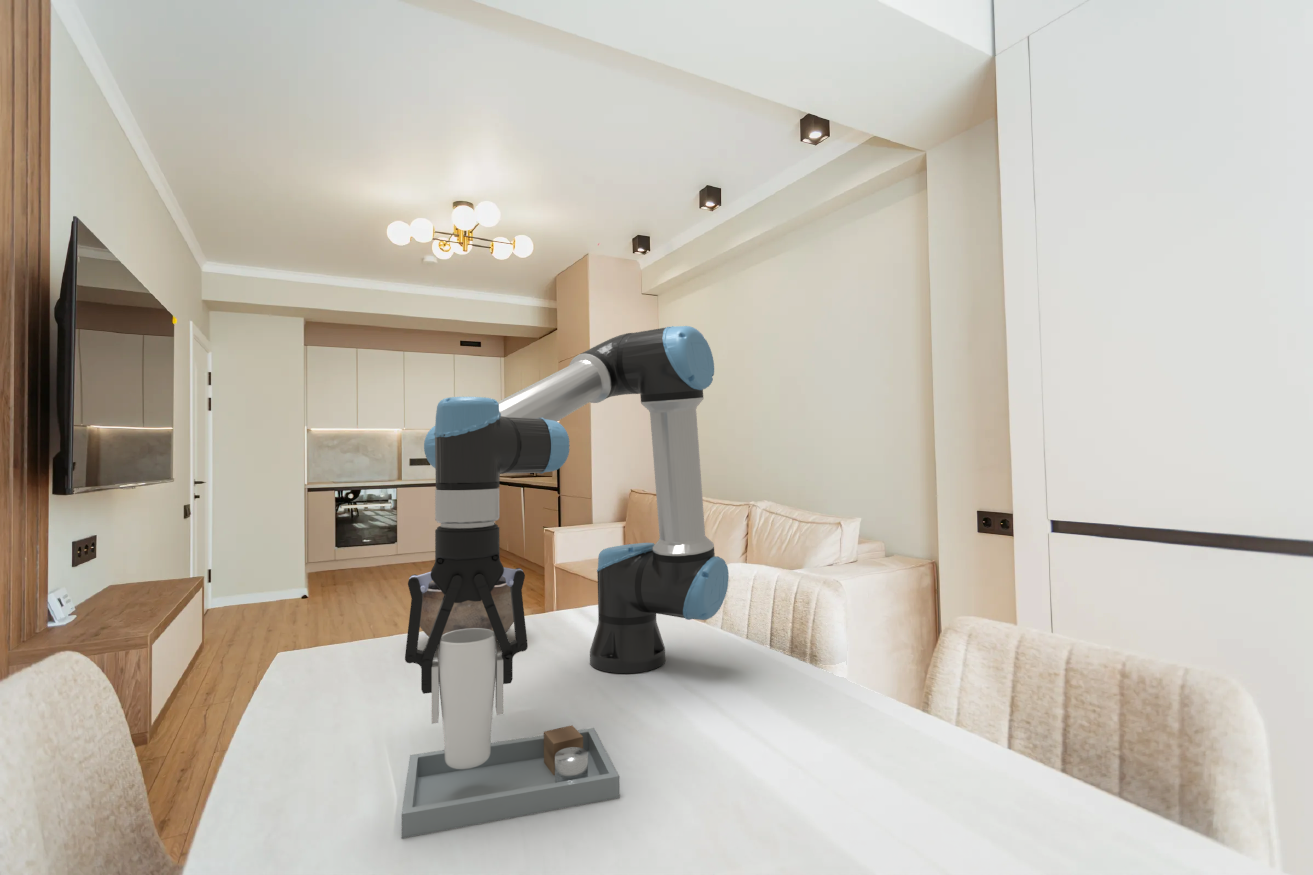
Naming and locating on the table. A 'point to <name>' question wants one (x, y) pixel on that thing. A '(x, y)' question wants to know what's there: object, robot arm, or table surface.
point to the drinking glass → (467, 695)
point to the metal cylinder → (571, 764)
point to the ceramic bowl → (466, 610)
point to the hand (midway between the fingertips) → (467, 714)
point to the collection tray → (500, 786)
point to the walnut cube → (559, 743)
